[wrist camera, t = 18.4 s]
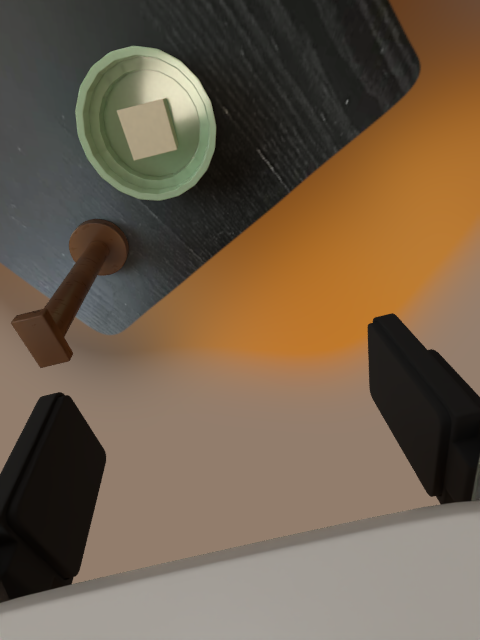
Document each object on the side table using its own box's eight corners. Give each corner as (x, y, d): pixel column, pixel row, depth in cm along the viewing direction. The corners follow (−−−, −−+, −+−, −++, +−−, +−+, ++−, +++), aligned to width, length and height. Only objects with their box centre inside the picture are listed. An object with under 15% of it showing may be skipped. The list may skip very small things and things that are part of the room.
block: (139, 154, 36) (133, 160, 33) (124, 108, 34) (116, 110, 31) (178, 144, 36) (177, 149, 33) (166, 98, 34) (162, 98, 31)
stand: (86, 275, 43) (22, 385, 27) (63, 226, 40) (-27, 316, 24) (136, 263, 43) (101, 366, 27) (116, 212, 40) (62, 294, 24)
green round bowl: (118, 200, 39) (109, 213, 35) (68, 70, 33) (49, 67, 29) (225, 173, 39) (229, 183, 34) (195, 37, 33) (195, 29, 28)
